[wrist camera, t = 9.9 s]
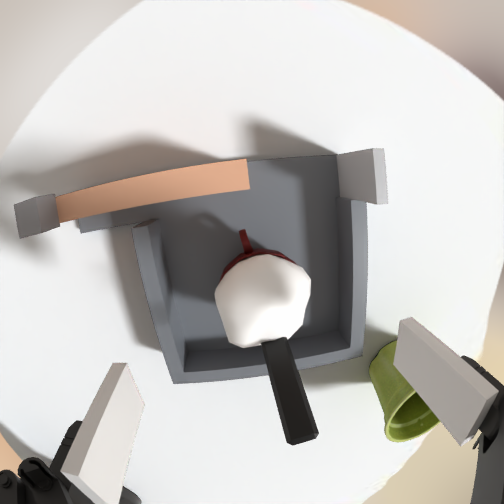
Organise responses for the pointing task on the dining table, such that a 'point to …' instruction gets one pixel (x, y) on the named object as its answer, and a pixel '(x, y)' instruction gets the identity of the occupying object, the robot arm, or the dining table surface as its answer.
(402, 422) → the plant pot
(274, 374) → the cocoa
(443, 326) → the dining table surface
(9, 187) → the dining table surface
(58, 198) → the cover
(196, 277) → the box
